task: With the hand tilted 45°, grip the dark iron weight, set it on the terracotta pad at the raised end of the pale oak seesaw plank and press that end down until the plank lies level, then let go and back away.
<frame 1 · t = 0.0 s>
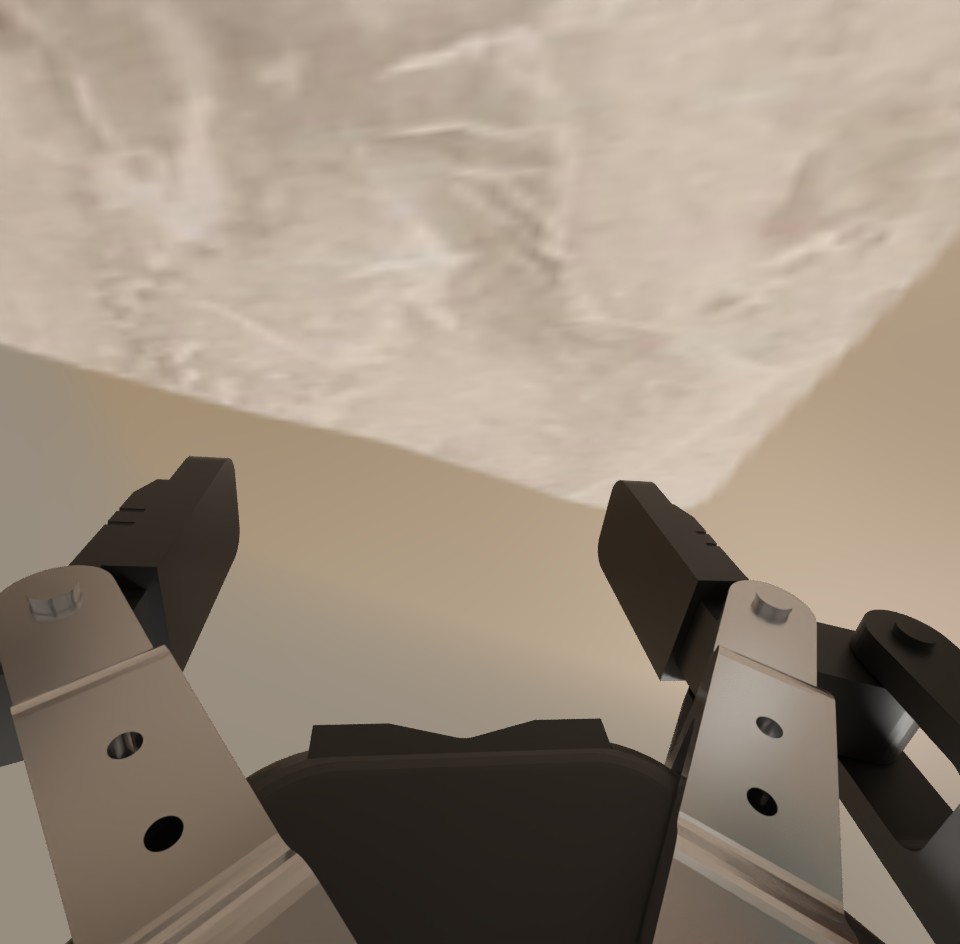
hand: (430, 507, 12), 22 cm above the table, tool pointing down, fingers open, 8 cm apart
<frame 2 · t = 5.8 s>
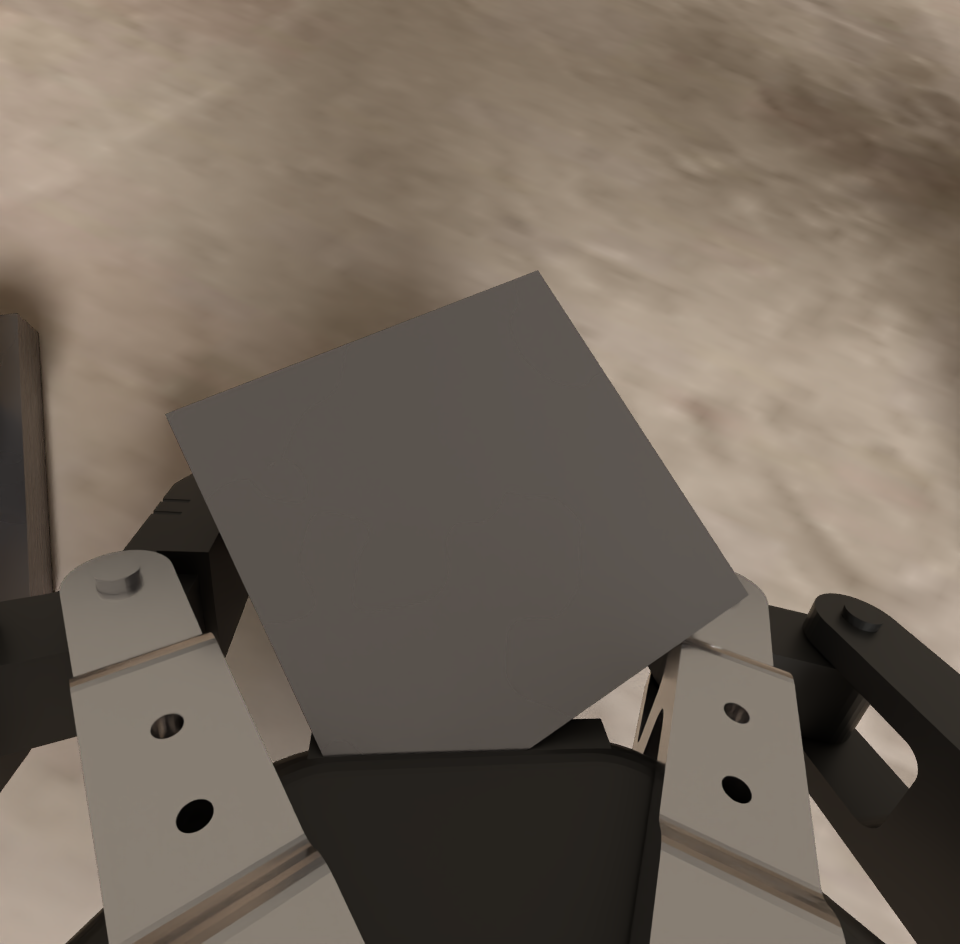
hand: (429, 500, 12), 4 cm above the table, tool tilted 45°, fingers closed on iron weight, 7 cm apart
iron weight: (414, 592, 16), on the table, touching gripper
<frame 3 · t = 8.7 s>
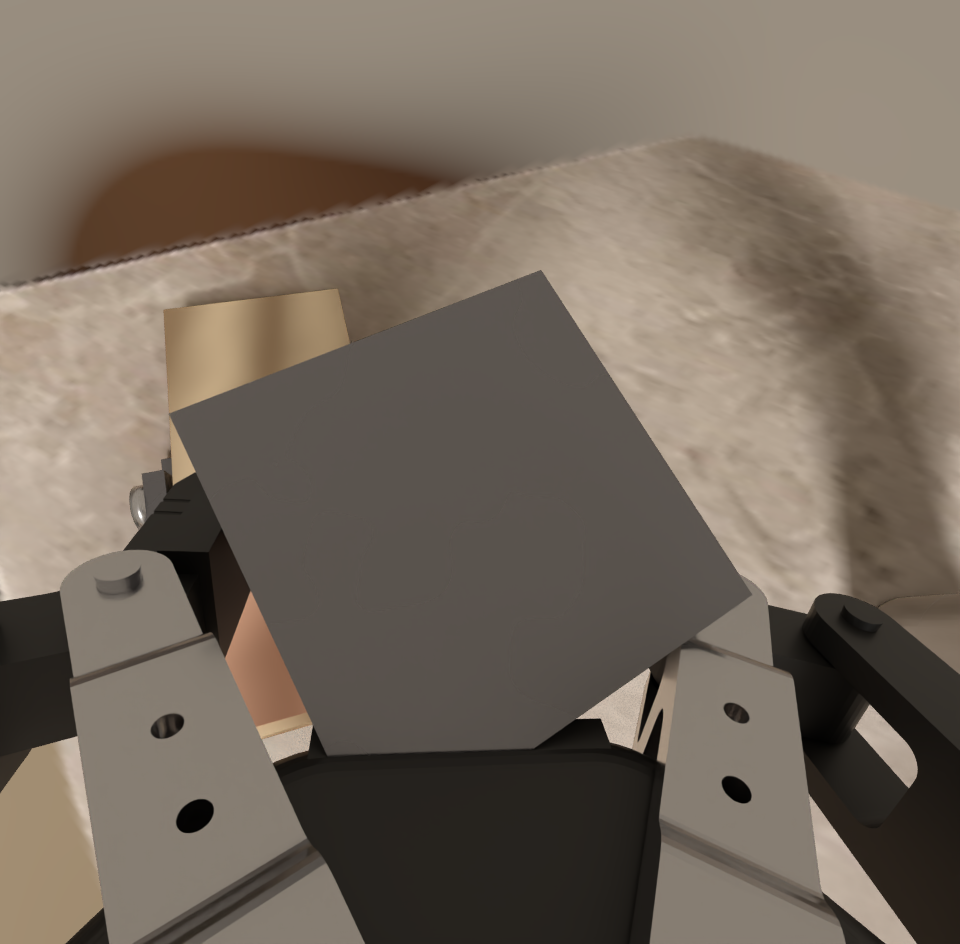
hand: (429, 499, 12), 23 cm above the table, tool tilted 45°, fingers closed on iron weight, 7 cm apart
seesaw stand: (297, 503, 34), on the table
iron weight: (416, 591, 16), point 18 cm above the table, touching gripper
seesaw plank: (281, 481, 29), point 5 cm above the table, hinge at 10.0°
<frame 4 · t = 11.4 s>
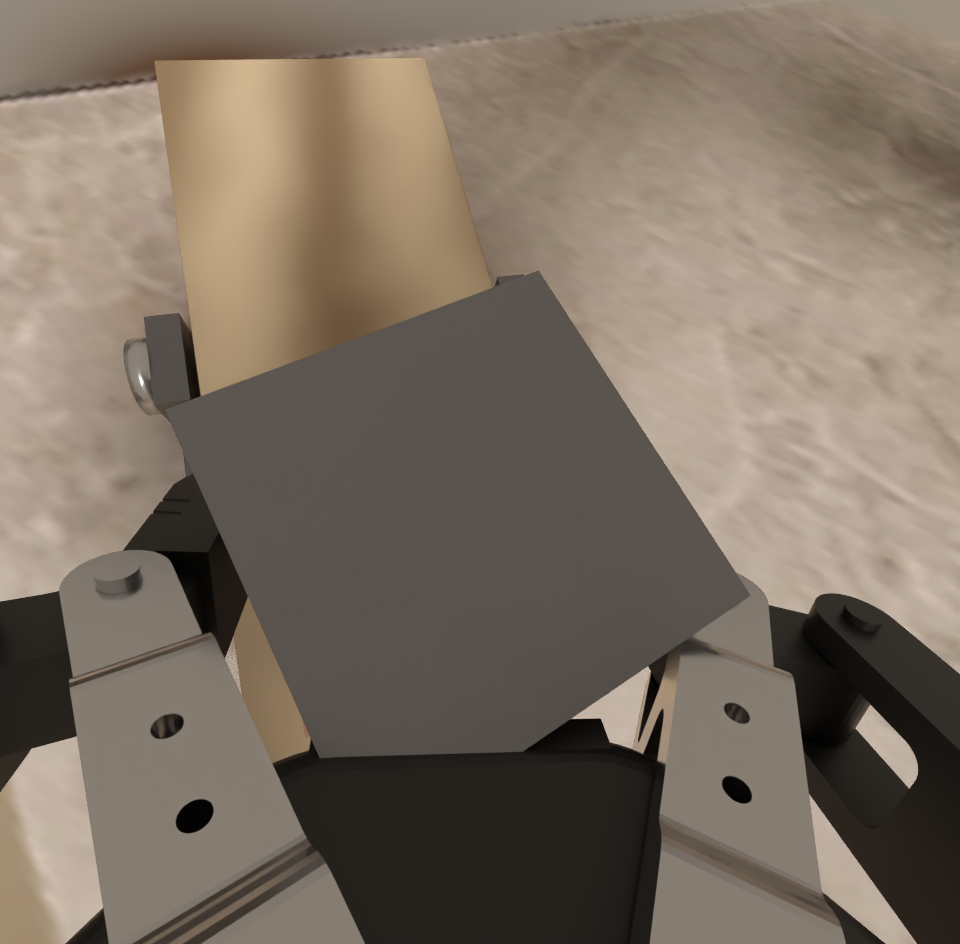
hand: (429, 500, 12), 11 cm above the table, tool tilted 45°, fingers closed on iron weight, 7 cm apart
seesaw stand: (362, 406, 24), on the table
iron weight: (416, 597, 16), point 6 cm above the table, touching gripper, seesaw plank
seesaw plank: (358, 346, 19), point 5 cm above the table, hinge at -0.4°, touching iron weight
when the fingers open (11 cm above the table, at t = 11.9 s): iron weight stays where it is, resting on seesaw plank.
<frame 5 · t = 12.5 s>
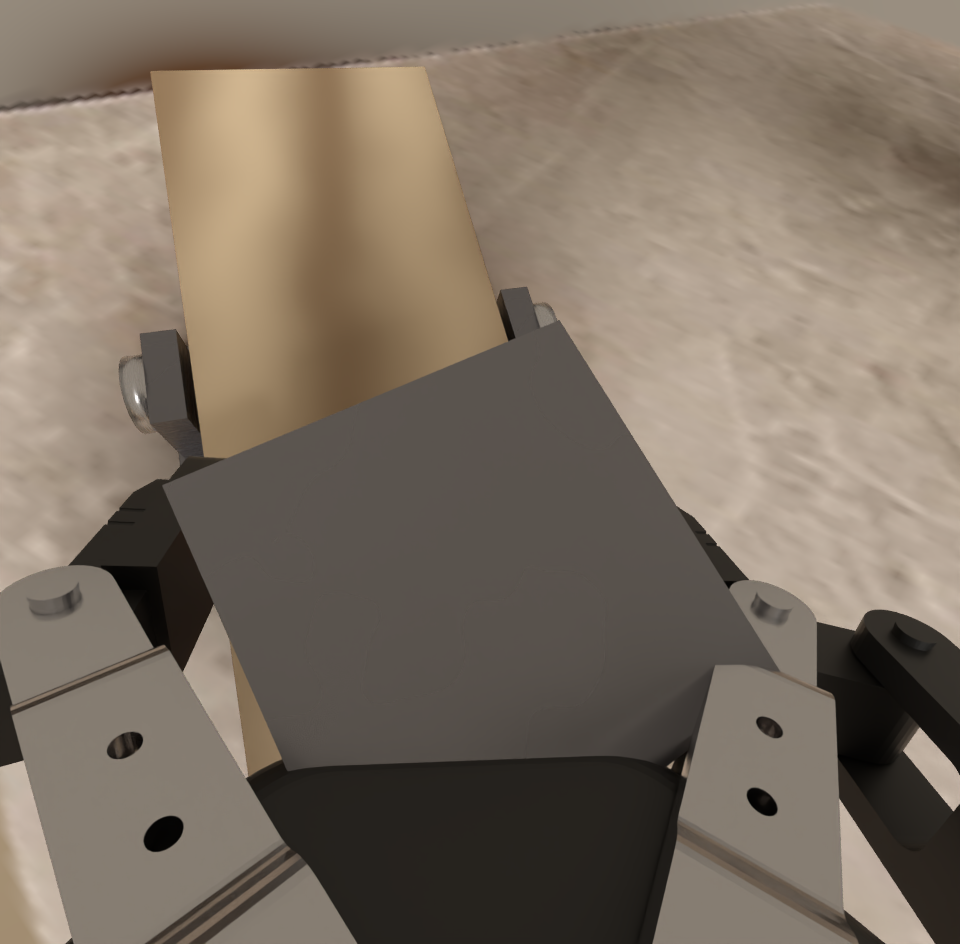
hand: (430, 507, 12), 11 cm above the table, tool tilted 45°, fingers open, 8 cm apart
seesaw stand: (363, 420, 23), on the table
iron weight: (419, 621, 15), point 6 cm above the table, touching seesaw plank
seesaw plank: (359, 361, 18), point 5 cm above the table, hinge at -0.5°, touching iron weight
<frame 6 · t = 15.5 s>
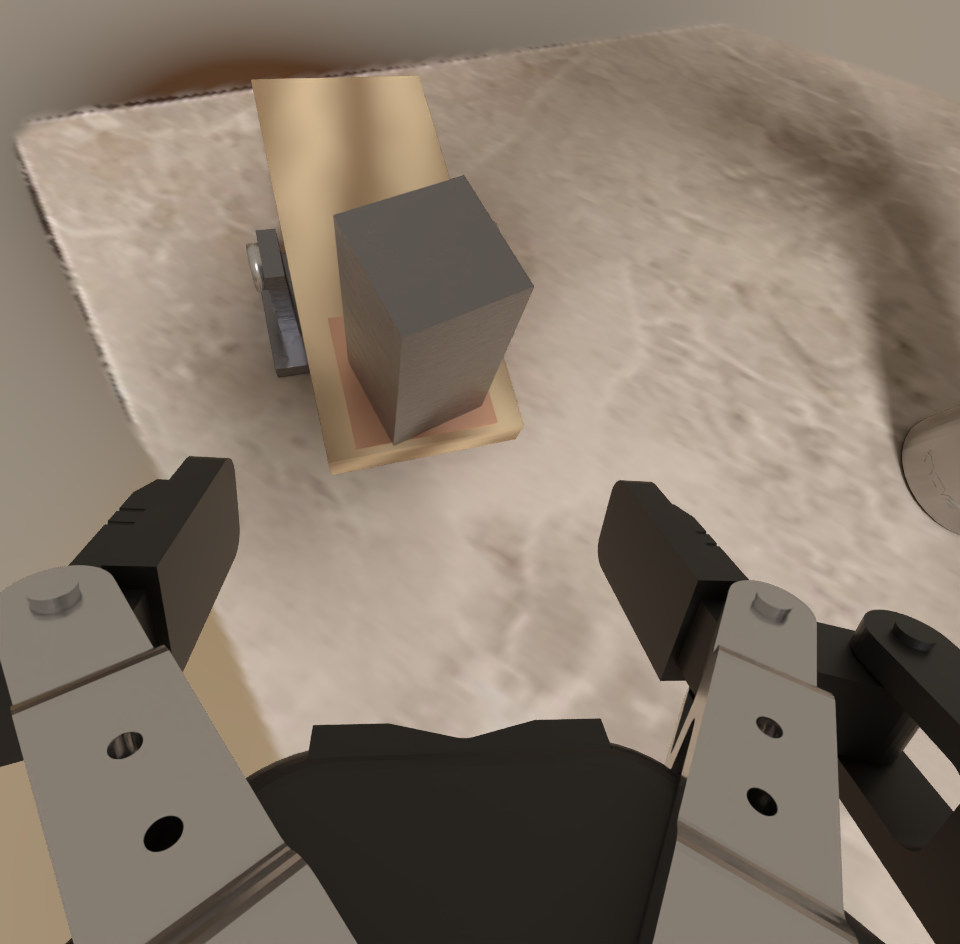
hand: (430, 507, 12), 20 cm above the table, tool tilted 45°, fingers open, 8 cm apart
seesaw stand: (379, 306, 36), on the table
iron weight: (415, 384, 28), point 6 cm above the table, touching seesaw plank
seesaw plank: (379, 253, 31), point 5 cm above the table, hinge at -0.5°, touching iron weight
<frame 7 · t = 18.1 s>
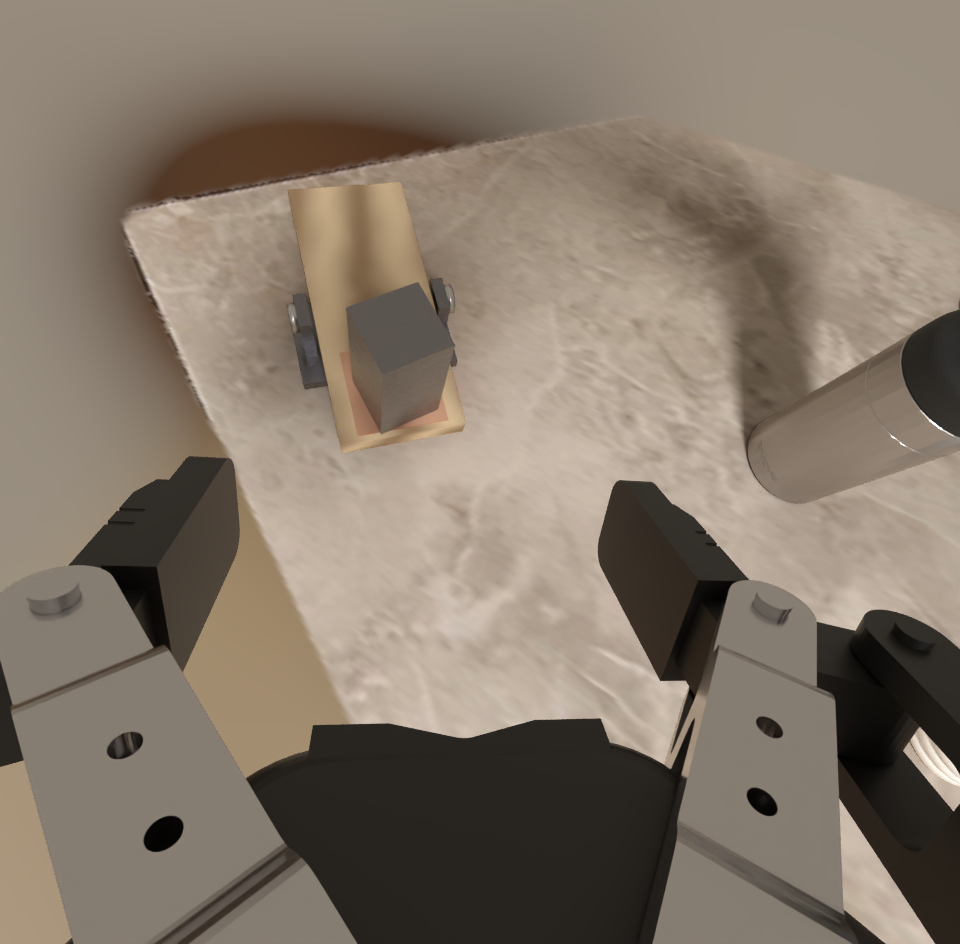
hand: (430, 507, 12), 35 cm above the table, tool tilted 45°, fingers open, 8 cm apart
coaster: (945, 723, 50), on the table
seesaw stand: (373, 339, 51), on the table
iron weight: (395, 395, 43), point 6 cm above the table, touching seesaw plank
seesaw plank: (373, 307, 46), point 5 cm above the table, hinge at -0.5°, touching iron weight
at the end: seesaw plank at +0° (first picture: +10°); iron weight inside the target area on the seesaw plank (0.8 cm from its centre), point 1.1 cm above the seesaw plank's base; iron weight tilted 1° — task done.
